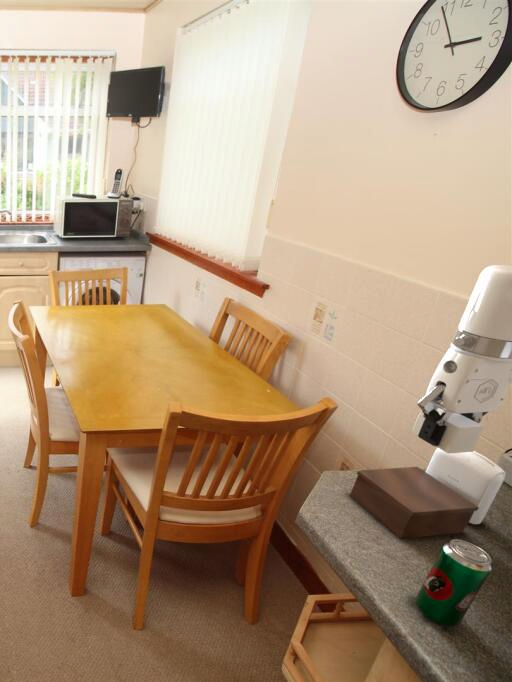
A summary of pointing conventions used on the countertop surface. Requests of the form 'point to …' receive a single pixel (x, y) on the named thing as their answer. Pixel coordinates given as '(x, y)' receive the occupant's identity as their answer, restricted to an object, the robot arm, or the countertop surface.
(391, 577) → the countertop surface
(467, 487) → the photo printer
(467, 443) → the white box
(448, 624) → the soda can
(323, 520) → the countertop surface
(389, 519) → the storage box
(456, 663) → the countertop surface
